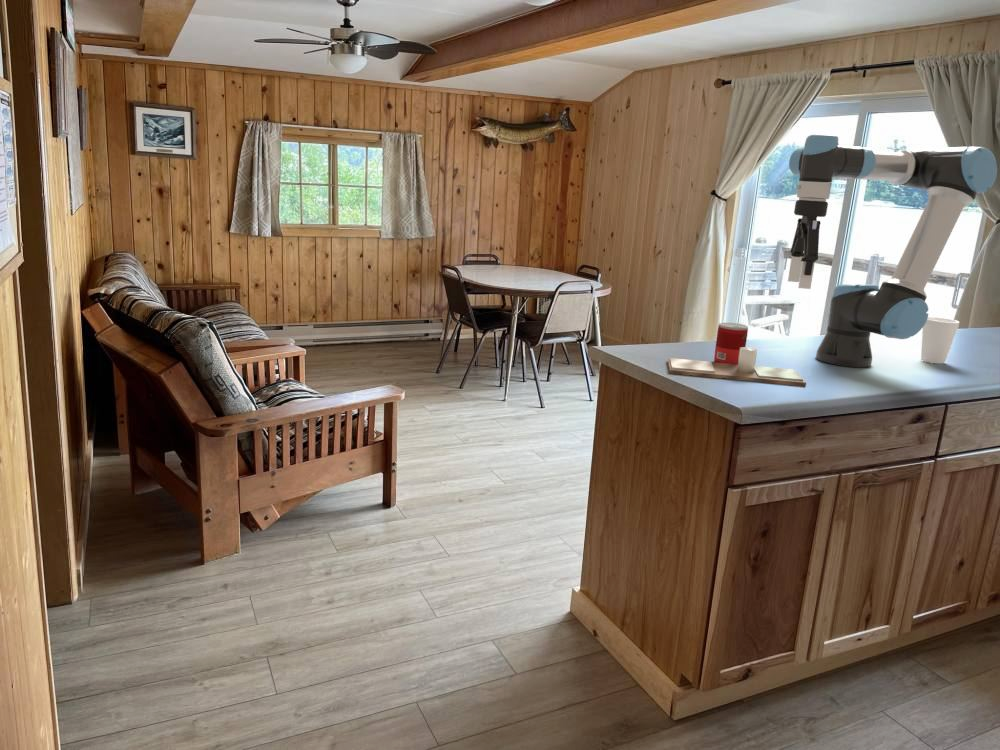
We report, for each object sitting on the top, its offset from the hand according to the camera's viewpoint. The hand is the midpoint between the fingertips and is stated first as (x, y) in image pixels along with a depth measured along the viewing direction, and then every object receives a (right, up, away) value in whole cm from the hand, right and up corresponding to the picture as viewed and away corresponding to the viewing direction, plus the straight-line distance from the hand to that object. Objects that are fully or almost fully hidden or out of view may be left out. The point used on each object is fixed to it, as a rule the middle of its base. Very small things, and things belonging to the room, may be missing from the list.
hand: (798, 285), depth 191 cm
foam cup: (+56, -19, +37) cm, 70 cm away
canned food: (-12, -20, +20) cm, 31 cm away
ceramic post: (-11, -23, +8) cm, 27 cm away
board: (-14, -23, +8) cm, 28 cm away
